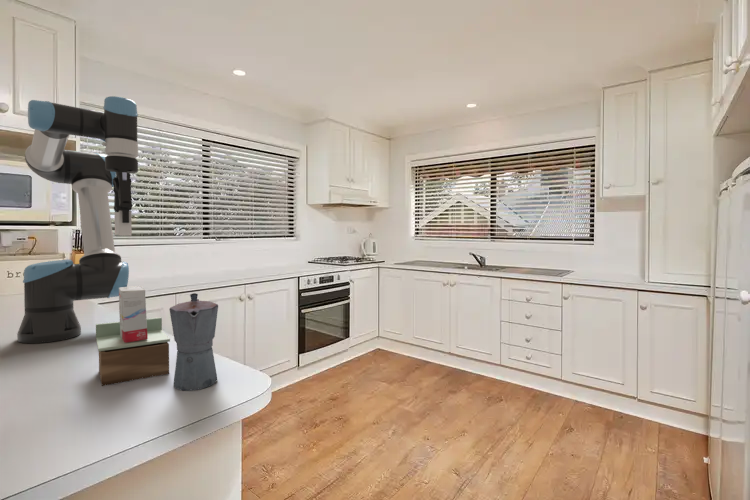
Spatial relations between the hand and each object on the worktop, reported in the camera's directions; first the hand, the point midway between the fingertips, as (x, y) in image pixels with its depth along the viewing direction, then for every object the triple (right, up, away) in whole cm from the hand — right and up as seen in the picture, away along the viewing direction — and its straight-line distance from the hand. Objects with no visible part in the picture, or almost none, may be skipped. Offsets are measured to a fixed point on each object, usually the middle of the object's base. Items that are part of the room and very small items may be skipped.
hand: (122, 235), depth 109 cm
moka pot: (+29, -33, -21) cm, 49 cm away
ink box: (+12, -25, -15) cm, 31 cm away
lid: (+12, -25, -15) cm, 32 cm away
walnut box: (+13, -33, -16) cm, 38 cm away
